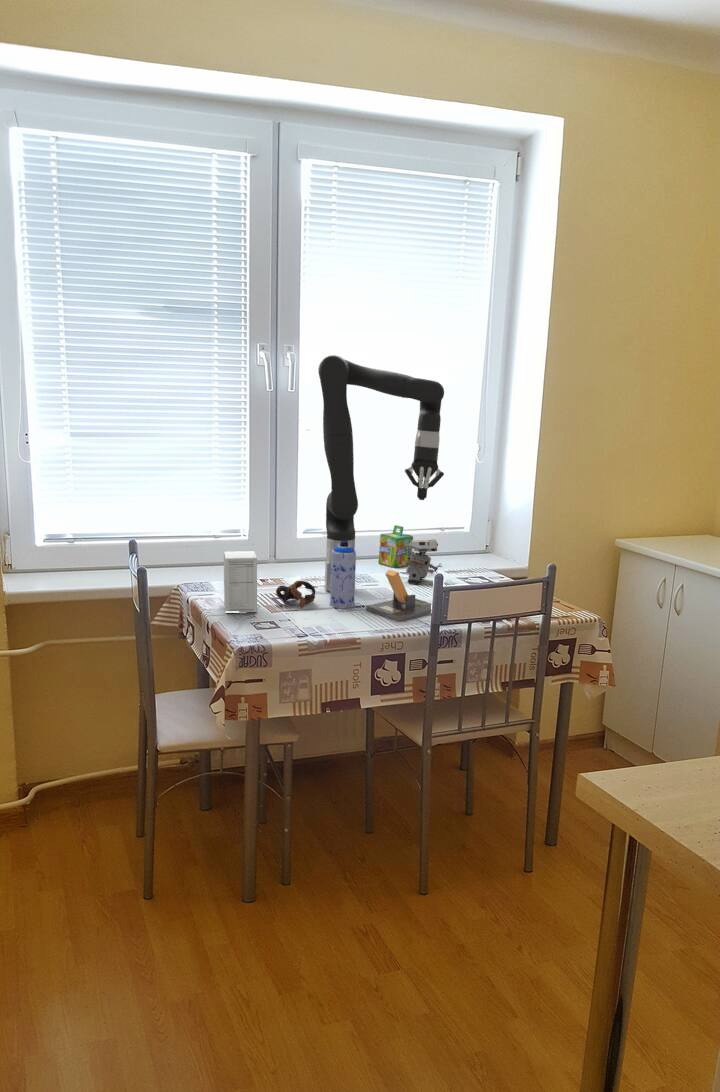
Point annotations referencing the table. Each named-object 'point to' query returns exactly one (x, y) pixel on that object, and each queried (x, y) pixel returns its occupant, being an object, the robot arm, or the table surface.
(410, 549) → the chalk box
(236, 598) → the supplement box
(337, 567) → the blue patterned bottle
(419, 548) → the figurine
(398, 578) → the lever
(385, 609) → the plate
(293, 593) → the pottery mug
